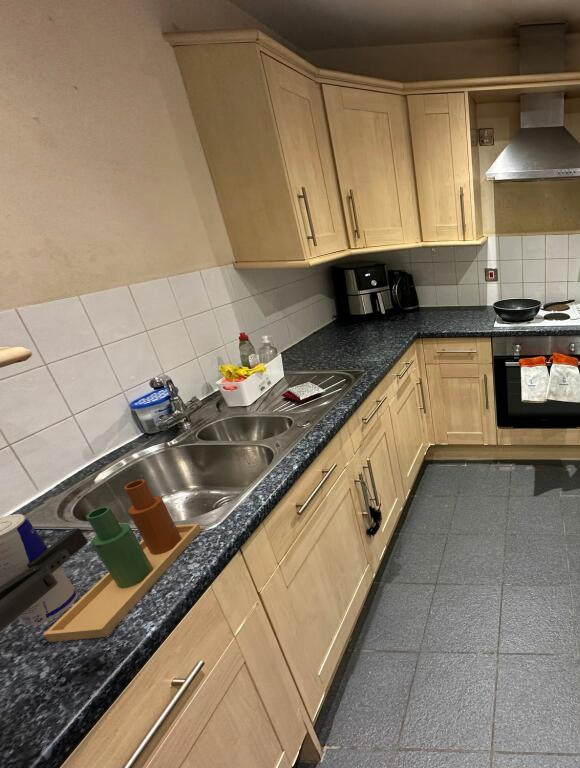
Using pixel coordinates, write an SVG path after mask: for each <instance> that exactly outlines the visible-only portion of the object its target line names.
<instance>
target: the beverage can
mask: <svg viewBox="0 0 580 768" xmlns="http://www.w3.org/2000/svg"><path fill="white" fill-rule="evenodd" d="M48 548H49V547H47V545H46V543H45V542H44V541H43V539H42V538H41V536H40V535H39V533H38V532H37V530H36V529H35V528H34V526H33V524H32V523H31V521H30V520H29V519H28V518H26V516H25V515H24V514H21V513H15V514H9V515H4V516H0V586H2V585H3V584H5V583H7V582H8V581H10V580H11V579H13V578H15V577H16V576H18V575H19V574H21V573H23V572H24V571H26V570H27V569H29V567H28V566H27V564H29V563H30V562H31V561H32V560H34V559H35V558H37V557H38V556H39V555H40V554H42V553H43V552H44V551H45V550H47V549H48ZM61 567H62V566H60V567H59V568H58V569H57V570H55V571H54V572H53V573H52V575H53V576H54V578H55V579H56V581H57V582H58V583H57V585H56V586H54V587H53V588H52V589H51V590H50V591H48V592H47V593H46V594H45V595H44V596H42V597H41V598H40V599H39V600H38V601H36V602H35V603H34V604H33V605H32V606H30V607H29V608H28V609H27V610H26V611H24V612H23V613H22V614H21V615H20V616H18V617H17V618H16V619H17V620H18V621H19V623H21V625H23V626H25V627H31V626H37V625H41V624H44V623H46V622H49V621H52V620H53V619H55V618H57V617H58V616H61V615H62V614H64V612H67V611H68V610H69V609H70V608H71V607H72V606H73V605H74V604H75V602H76V601H77V598H78V597H79V592H78V591H77V589H76V588H75V586H74V585H73V584H72V582H71V581H70V579H69V577H68V576H67V575H66V573H65V571H64V570H63V569H62V568H61Z"/></svg>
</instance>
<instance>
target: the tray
mask: <svg viewBox="0 0 580 768" xmlns="http://www.w3.org/2000/svg"><path fill="white" fill-rule="evenodd" d="M175 526H176V528H177V530H178V532H179V534H180V536H181V538H182V539H181V541H180V542H179V543H178V544H177V545H176V546H175V547H174V548H173V549H172V550H170V551H168V552H165V553H162V554H157V555H153V554H151V553H150V551H149V549H148V547H147V546H146V544H145V542H144V540H143V539H142V540H141V541H139V543H140V545H141V547H142V549H143V551H144V553H145V554H146V556H147V558H148V560H149V562H150V563H151V565H152V567H153V571H152V572H151V573H150V574H149V575H148V576H147V577H146V578H145V579H144V580H143V581H142V582H141V583H139V584H137V585H135V586H132V587H129V588H119V587H118V586H117V585H116V583H115V581H114V580H113V578H112V576H111V575H110V573H109V572H107V573H106V574H105V575H104V576H102V578H101V579H100V580H98V582H97V583H96V584H94V585H93V586H92V587H91V588H90V589H89V590H88V591H87V592H86V593H85V594H84V595H82V596H81V598H80V599H79V600H78V601H76V603H74V604H73V605H71V606H70V607H69V608H68V609H67V610H66V611H65V613H63V615H62V616H61V617H60V618H59V619H58V620H57V621H56V622H54V624H52V626H50V627H49V628H48V629H47V630H46V631H45V632H44V633H43V636H44V638H45V640H46V641H47V642H48V643H55V642H64V641H67V642H68V641H77V640H78V641H79V640H86V639H97V638H98V639H100V638H107V637H108V636H109V635H110V634H111V633H112V631H114V629H115V628H116V627H117V626H118V625H119V624H120V623H121V621H122V620H123V619H124V618H125V617H126V616H127V615H128V614H129V613H130V611H131V610H132V609H133V608H134V607H135V606H136V605H137V604H138V602H139V601H140V600H141V599H142V598H143V597H144V596H145V595H146V594H147V592H148V591H149V590H150V589H151V588H152V587H153V585H154V584H155V583H157V581H158V580H159V579H160V578H161V577H162V575H164V573H165V572H166V571H167V570H168V569H169V568H170V566H171V565H172V564H174V562H175V561H176V560H177V559H178V558H179V557H180V556H181V554H182V553H183V552H185V550H186V549H187V548H188V546H190V545H191V543H192V542H193V541H194V540H195V539H196V538H197V537H198V535H199V534H200V533H201V532H202V531H203V530H202V527H201V525H200V523H190V524H177V525H176V524H175Z"/></svg>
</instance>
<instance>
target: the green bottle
mask: <svg viewBox="0 0 580 768" xmlns="http://www.w3.org/2000/svg"><path fill="white" fill-rule="evenodd" d="M85 518H86V520H87V521H88V523H89V525H90V527H91V528H92V530H93V531H94V533H95V536H94V537H93V538H92V540H91V541H90V542H91V546H92V547H93V549H94V551H95V552H96V554H97V556H98V557H99V559H100V560H101V562H102V563H103V565H104V568H106V570H107V571H108V572H109V573H110V575H111V576H112V578H113V580H114V581H115V583H116V585H117V586H118V587H119V588H129V587H132V586H135V585H137V584H139V583H141V582H142V581H143V580H144V579H145V578H146V577H147V576H148V575H149V574H150V573H151V572H152V571H153V567H152V565H151V563H150V562H149V560H148V558H147V556H146V554H145V553H144V551H143V549H142V547H141V545H140V541H139V540H138V538H137V536H136V535H135V532H134V530H133V529H132V527H131V526H130V524H128V523H119V521H118V520H117V517H116V516H115V514H114V513H113V511H112V509H111V507H109V506H101V507H99V508H96V509H94V510H92V511H90V512H89V513H88V514H86V516H85ZM108 572H107V573H108Z"/></svg>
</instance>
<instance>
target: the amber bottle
mask: <svg viewBox="0 0 580 768" xmlns="http://www.w3.org/2000/svg"><path fill="white" fill-rule="evenodd" d="M124 491H125V493H126V495H127V497H128V498H129V500H130V503H131V504H132V505H131V506H130V507H129V508H128V510H127V512H128V514H129V516H130V518H131V520H132V522H133V524H134V526H135V527H136V529H137V531H138V533H139V535H140V537H141V539H142V540H144V542H145V544H146V546H147V547H148V549H149V551H150V553H151V554H153V555H157V554H162V553H165V552H168V551H170V550H172V549H173V548H174V547H175V546H176V545H177V544H178V543H179V542H180V541H181V539H182V538H181V536H180V534H179V532H178V530H177V528H176V524H175V522H174V520H173V518H172V516H171V513H170V512H169V509H168V508H167V506H166V503H165V502H164V500H163V498H162V496H159V495H155V496H153V493H152V492H151V490H150V488H149V485H148V484H147V482H146V480H145V479H135V480H133V481H131V482H128V483H127V484H126V485H124Z"/></svg>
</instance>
